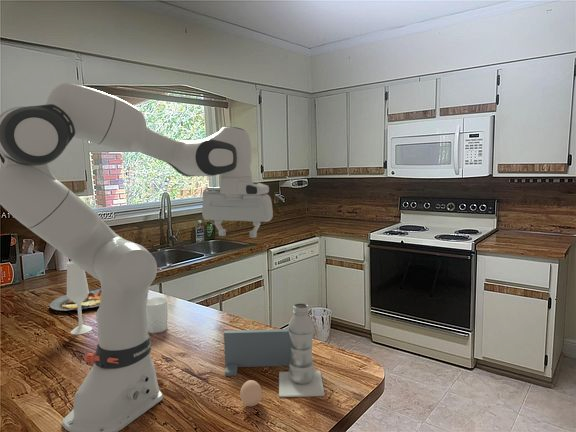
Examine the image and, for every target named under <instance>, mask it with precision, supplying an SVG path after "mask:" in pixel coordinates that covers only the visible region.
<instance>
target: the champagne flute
mask: <svg viewBox="0 0 576 432" xmlns="http://www.w3.org/2000/svg"><path fill="white" fill-rule="evenodd" d="M87 280H88V279H87V275H86V271H84V270H83V269H82V268H81V267H79V266H78V265H77V264H75V263H74V262H73V261H71V260H70V261H68V262H66V295H67V297H68V298H69V299H70V300H71V301H73V302H74V303H77V308H78V310H77V317H78V326H76V327H75V328H73V329H72V330H70V334H72V335H82V334H86V333H88V332H91V331H92V330H93V327H92V326H89V325H86V324H84V322H83V321H84V320H83V313H82V310H83V309H81V302H83V301H84V300H85V299H86V298H87V296H88V294H89V290H90V289H89V285H88V281H87Z"/></svg>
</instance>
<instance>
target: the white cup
mask: <svg viewBox="0 0 576 432" xmlns="http://www.w3.org/2000/svg"><path fill="white" fill-rule="evenodd" d="M146 312H147V328H148V334H150V333H151V334H157V333H162V332H165V331H166V330H168V313H169V311H168V299H167V298H166V297H163V296H161V297H160V296H158V297H150V298H147V306H146Z"/></svg>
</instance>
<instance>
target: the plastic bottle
mask: <svg viewBox="0 0 576 432" xmlns="http://www.w3.org/2000/svg"><path fill="white" fill-rule="evenodd" d="M292 307H293V308H292V309H293V312H292V313H293V316H292V317H291V319H289V320H290V321H289V323H288V329H289V335H290V342H291V358H290V365H289V366H288V372H289V376H290V378H291V380H292V381H293V382H295V383H298V384H306V383H309V382H311V380H312V379H313V377H314V372H315V371H316V370H315V365H314V360H313V359H314V357H313V337H314V333H315V325H314V322H313V320H312V318H311V317H310V315H309V312H310V311H309V305H308V304H306V303H301V302H299V303H295V304H294V305H293V306H292Z"/></svg>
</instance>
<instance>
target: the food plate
mask: <svg viewBox="0 0 576 432" xmlns="http://www.w3.org/2000/svg"><path fill="white" fill-rule="evenodd" d="M101 291H102V290H101V288H96V289H89V294H88V296H87V298H86V299H85V300H84V301H83V302H81V310H83V309H84V310H87V309H88V308H91V309H92V308H97V307H99V306H100V301H101ZM49 307H50V308H51V310H52V309H53V310H56V311H78V308H77V303H74V302H73V301H71V300H70V299H69V298H68V297H67V294H65V295H63V296H62V295H61V296H59V297H57V298H56V299H54V300H52V301H51V303H50V304H49Z"/></svg>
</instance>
